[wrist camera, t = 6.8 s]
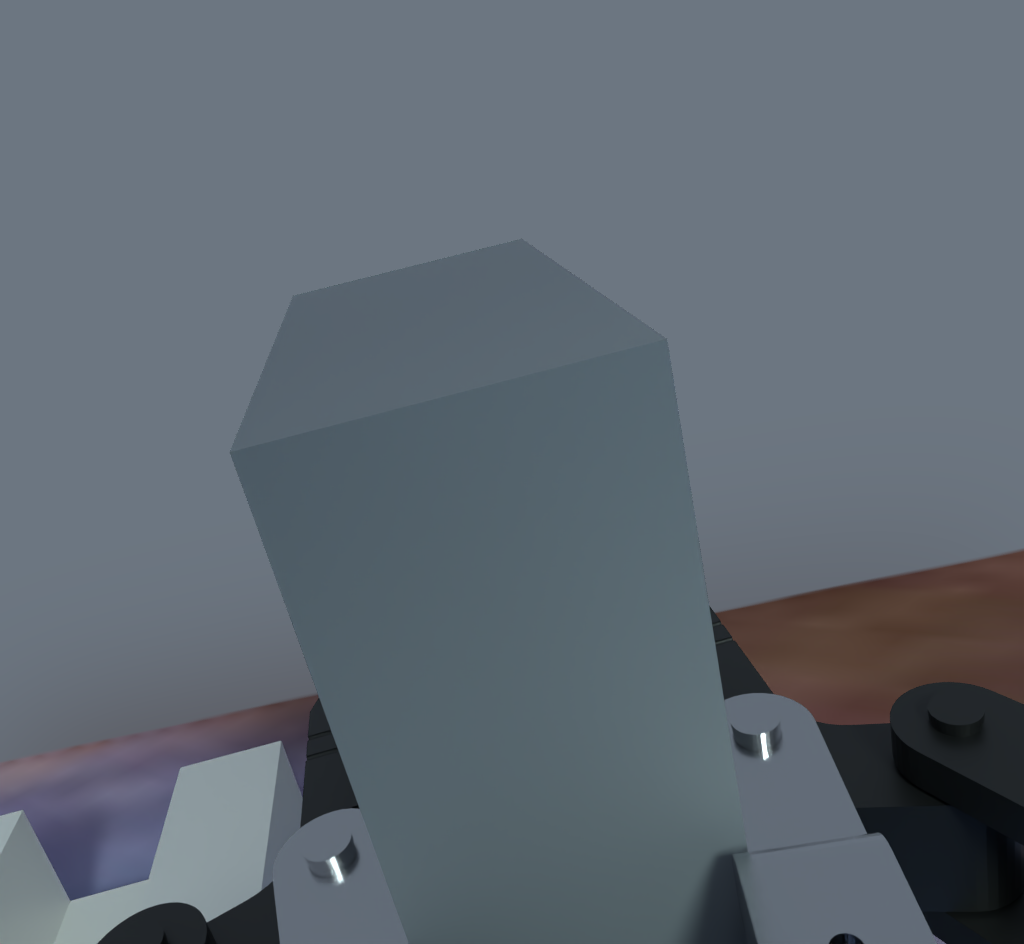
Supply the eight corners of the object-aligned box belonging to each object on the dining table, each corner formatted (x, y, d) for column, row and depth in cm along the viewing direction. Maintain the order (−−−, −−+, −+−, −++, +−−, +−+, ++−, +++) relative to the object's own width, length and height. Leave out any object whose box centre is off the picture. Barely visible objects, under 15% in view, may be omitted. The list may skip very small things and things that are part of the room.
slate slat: (688, 1024, 17) (522, 239, 12) (841, 1447, 12) (666, 340, 6) (536, 1071, 17) (293, 296, 12) (620, 1523, 12) (229, 452, 6)
